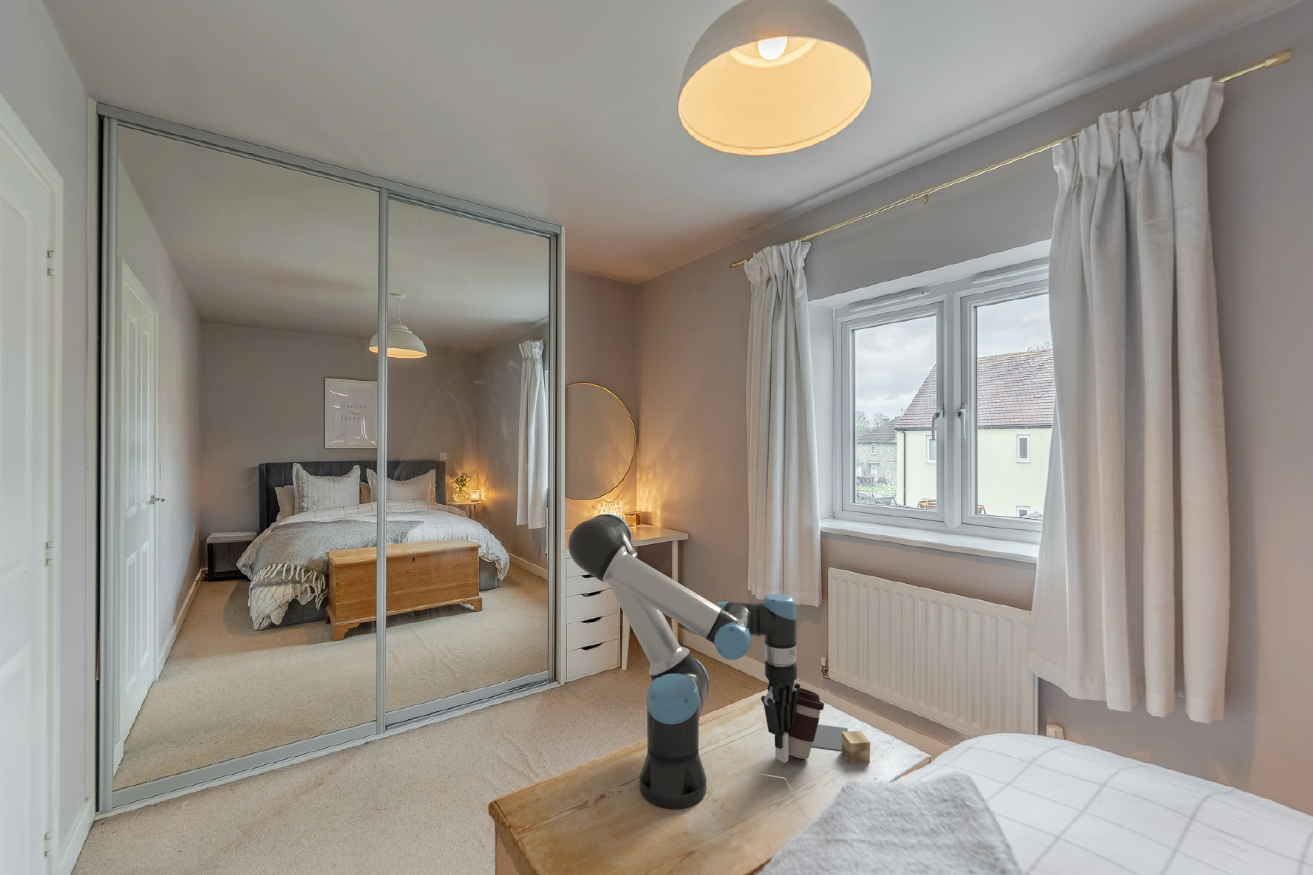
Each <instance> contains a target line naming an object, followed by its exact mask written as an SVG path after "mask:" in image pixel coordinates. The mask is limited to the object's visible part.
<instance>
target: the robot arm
mask: <svg viewBox="0 0 1313 875" xmlns="http://www.w3.org/2000/svg"><path fill="white" fill-rule="evenodd" d="M567 545H568V551H569V555H570V557H571V559H572V560H573V562H574V563H575V564H576V565H577V566H578V567H579V568H580V569H582V570H583V571H585V572H586V573H588V574H589V575H591V576H592V577H594V578H596V579H597V580H599V581H600V582H602V583H605V584H606V583H607V584H608V586H609V587H610V589H611V591H612V593H613V595H614V597H615V599H616V601H617V603H618V605H619V607H620V608H621V610H622V612H623V614H624V616H625V618H626V620H627V622H628V623H629V625H630V628H631V629H632V631H633V633H634V635H635V637H636V639H637V640H638V643H639V644H640V646H641V648H642V650H643V653H644V655H645V656H646V658H647V659H648V661H649V664H650V666H649V669H648V670H649V671H648V675H649V677H650V678H651V681H652V682H650V684H649V686H648V689H647V696H646V710H647V711H646V714H647V716H646V718H647V721H646V723H647V733H646V736H647V739H646V740H647V741H646V743H647V747H646V748H647V751H646V756H645V760H644V762H643V766H642V769H641V771H640V775H639V792H640V794H641V796H642V797H643V798H644V800H646V801H647V802H649V803H651V804H653V805H655V806H657V807H660V808H665V809H682V808H683V809H684V808H688V807H691V806H693V805H695V804H697V803H699V802H701V800H702V799H703V798H704V797H705V796H706V793H707V776H706V772H705V768H704V767H703V763H702V760H701V756H700V753H699V744H700V743H699V740H700V739H699V736H700V735H699V731H700V730H699V726H700V723H699V722H700V717H701V714H702V710H703V708H704V706H705V705H704V704H705V701H706V699H707V697H708V694H709V688H710V687H709V686H710V684H709V681H710V680H709V676H708V675H709V674H708V672H707V669H706V668H705V666H704V665H703V664H702V663H701V662H700V661H699V660H698V659H697V658H694V656H693V654H692V653H691V651H690V650H689V648H687V647H684V646H681V645H680V643H679V641H678V640H677V638H676V635H675V634H674V632H673V630H672V628H671V627H670V624H669V622H668V621H667V619H666V617H669V618H670V619H672V620H673V621H675V622H677V623H679V624H681V625H682V626H684V627H685V628H687V629H689V630H690V631H692V632H693V633H696V634H697V635H699V636H700V637H701V638H704V639H705V640H707V641H708V642H710V643H712V644H713V645H714V646H715V649H716V651H717V653H718V654H719V655H720V656H721V657H722V658H724V659H726V660H731V661H735V660H740V659H742V658H743V657H745V655H746V654H747V653H748V651H749V648H750V647H751V642H752V636H753V637H754V636H755V637H756V636H758V637H764V659H765V661H764V675H765V677H766V679H767V681H768V684H767V693H766V694H765V695H762V696H761V697H760V700H761V702H762V705H763V709H764V714H765V719H766V726H767V732H768V733H770V734H772V735H774V749H775V750H774V751H775V752H774V753H775V755H774V756H775V759H776V760H778V761H780V762H782V763H784V764H785V763H787V762H788V761H789V754H788V743H789V733H792V732H793V729H790V727H791V726H792V727H793V726H794V724H795V716H796V707H797V698H798V693H799V689H800V688H801V684H799V683H797V682H795V681H796V680H797V678H798V664H797V611H796V610H797V607H796V601H795V599H794V598H793V597H792V596H790V595H786V594H782V593H775V594H773V593H772V594H771V593H770V594H767V595H765V597H764V598H763V602H762V603H754V602H753V603H752V602H735V601H730V600H729V601H718V602H717V603H716V604H715V603H712V602H711V601H710V600H708V599H706V598H704V597H702V596H701V595H700V594H698V593H696V592H694V591H693V590H691V589H689V588H688V587H686V586H685V585H682V584H681V583H679V582H677V581H676V580H674V579H672V578H671V577H669V576H667V575H666V574H664V573H662V572H660V571H659V570H657V569H655V568H653V567H652V566H650V565H649V564H648V563H646V562H644V561H642V560H640V559H639V558H637V556H638V552H637V550H636V548H635V546H634V544H633V543H632V532H631V529H630V526H629V525H628V523H627V522H626V521H625V520H624V519H623V518H622V517H620V516H618V515H616V514H612V513H604V514H603V513H602V514H599V515H596V516H594V517H592V518H589V519H587V520H584V521H582V522H580V523H579V524H577V525H576V526H575V527H574V528H573V530H572V531H571V533H570V535H569V538H568V544H567ZM665 616H666V617H665ZM790 719H791V720H790Z"/></svg>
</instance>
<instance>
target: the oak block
mask: <svg viewBox="0 0 1313 875" xmlns="http://www.w3.org/2000/svg"><path fill="white" fill-rule="evenodd" d="M841 753H842V754H843V755H844V757H845V759H846V760H847V761H848V762H849V764H862V763H865V764H866V763H871V741H870V740H869V739H868V738H867V737H866V735H865V734H864V732H863V731H862V730H855V731H853V730H852V731H850V730H849V731H848V732H842V751H841Z"/></svg>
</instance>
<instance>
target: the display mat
mask: <svg viewBox="0 0 1313 875" xmlns="http://www.w3.org/2000/svg"><path fill="white" fill-rule="evenodd" d="M842 732H849V730H848V727H840V726H832V725H828V724H827V725H825V724H819V723H818V726H817V730H816V734H815V738H814V741H813V742H812V746H811V748H819V749H824V750H831V751H832V750H833V751H838V752H842Z"/></svg>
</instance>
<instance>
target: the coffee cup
mask: <svg viewBox="0 0 1313 875" xmlns="http://www.w3.org/2000/svg"><path fill="white" fill-rule="evenodd" d="M824 707H825V703H824V702H823V701H821V699H820V695H819V694H818V693H816V692H814V691H811V690H808V689H805V688H803V687H800V689H799V693H798V698H797V707H796V716H795V724H794V726H793V727H792V726H791V727H790V729H793V732H792V733H789V743H788V756H792V757H793V758H798V759H803V760H808V759H809V758H810V754H811V749H812V747H811V746H812V742H813V741H814V738H815V734H816V730H817V726H818V724H819V723H820V715H821V711H823V710H824V709H825V708H824ZM790 720H791V719H790Z"/></svg>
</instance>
